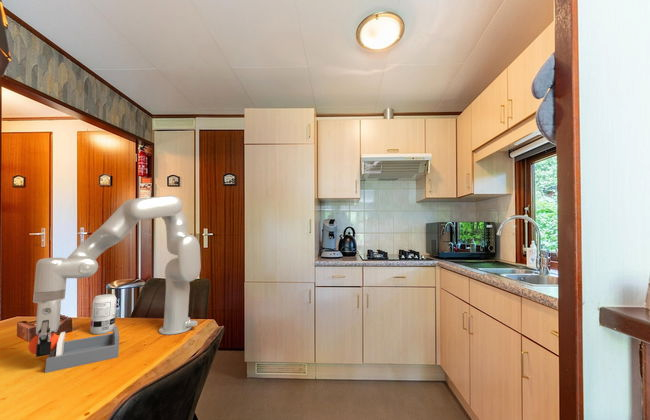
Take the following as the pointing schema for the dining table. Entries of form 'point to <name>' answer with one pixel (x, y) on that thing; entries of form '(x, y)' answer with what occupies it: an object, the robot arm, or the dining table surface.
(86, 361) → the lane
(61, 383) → the dining table surface
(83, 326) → the dining table surface
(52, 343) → the clementine
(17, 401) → the dining table surface
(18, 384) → the dining table surface
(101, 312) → the supplement can
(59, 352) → the pusher
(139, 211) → the robot arm
